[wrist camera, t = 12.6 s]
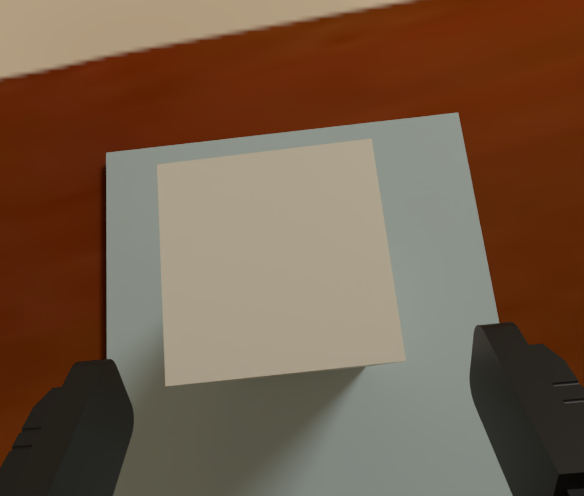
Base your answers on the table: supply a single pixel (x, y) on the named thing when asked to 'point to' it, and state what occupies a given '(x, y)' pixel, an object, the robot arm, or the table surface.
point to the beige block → (275, 265)
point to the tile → (325, 384)
